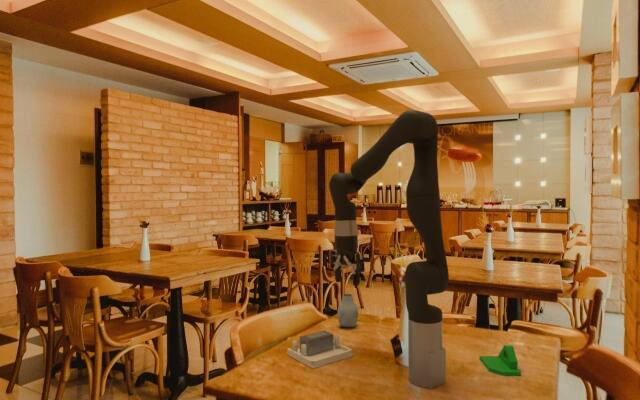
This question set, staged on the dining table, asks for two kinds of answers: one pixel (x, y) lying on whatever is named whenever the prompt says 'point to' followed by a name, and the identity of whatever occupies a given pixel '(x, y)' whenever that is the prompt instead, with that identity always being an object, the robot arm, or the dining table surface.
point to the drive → (317, 342)
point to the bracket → (502, 362)
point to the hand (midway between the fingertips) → (347, 283)
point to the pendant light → (347, 310)
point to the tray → (320, 354)
